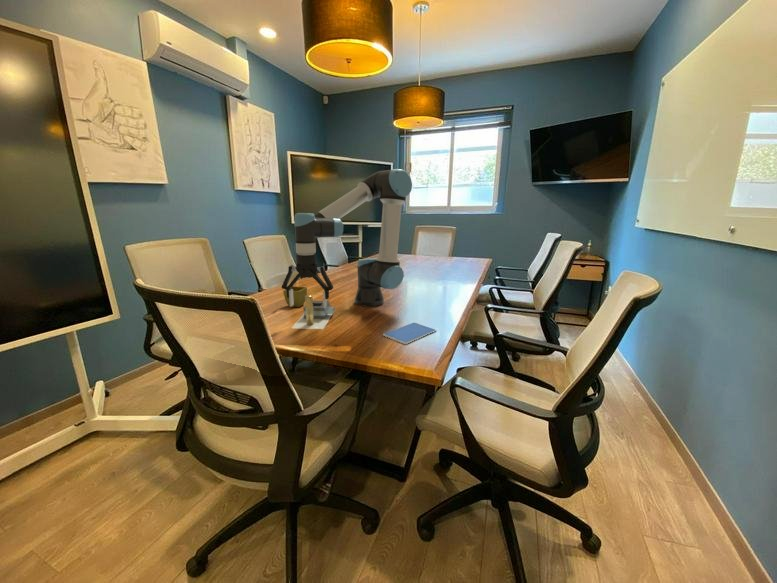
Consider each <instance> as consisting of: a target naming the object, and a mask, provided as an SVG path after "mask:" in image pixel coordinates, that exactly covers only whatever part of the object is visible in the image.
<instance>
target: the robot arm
mask: <svg viewBox="0 0 777 583" xmlns="http://www.w3.org/2000/svg"><path fill="white" fill-rule="evenodd" d="M412 189H413V181H412V178H411V176H410V175H409V173H408V172H407V171H406V170H405V169H400V168H399V169H398V168H393V169H387V170H379V171H376V172H374V173H372V174H371V175H368V176H367V177H366V178H364V179H363V180H361V181H360V182H358V183H357V186H356V187H355V188H353V189H351V190H350V191H348V192H347V193H345V194H344V195H343V196H341V197H339V198H338V199H337V200H335V201H333V202H331V203H330V204H328V205H327V206H325V207H323V208H322V209H321V210H319V211H318V212H316V213H314V212H313V213H311V212H307V213H306V212H297V213H295V214H294V220H293V222H294V235H295V236H294V237H295V253H296V255H295V258H296V266H295V265H293V264H291V265H289V266H288V271H287V273H286V276H285V278H284V280H283V283H282V285H281V289H282V290H285V289H286V291H287V298H289V301H290V306H289V307H291V308H293V307H292V306H293V305H294V299H293V289H291V288H292V286H294V285H295V284H297V281H299V279H300V278H309V279H311V278H312V279H314V281H316V282H317V284H318V285H319V286H320V288H322V289H323V291H322V301H323V307H326V306H327V301H328V300H329V299H330V298H329V297H330V291H332V290H333V289H334V285H333V284H332V282H331V279H330V278H329V275H328V274H327V272H326V267H325V266H324V265H322V266H318V265H317V254H316V252H317V246H316V244H317V242H316V240H317V239H318V238H337V237H338V238H339V237H341V236H342V235H343V233H344V222H343V221H342V220H341V219H342V218H343V217H345V216H346V215H348V214H349V213H350V212H352V211H354V210H355V209H357V208H358V207H360V206H362V204H364V203H365V202H371V201H373V200H375V199H377V198H379V200H380V202H381V203H382V214H381V223H380V224H381V226H380V241H379V249H378V251H379V252H378V257H377V256H376V257H369V258H362V259H358V260H357V264H356V265H357V267H356V268H357V291H356V293H355V297H354V304H356V305H357V306H361V307H379V306H381V305H383V304H384V303H385V300H384V295H383V292H382V288H383V289H384V290H395V289H397V288H398V287H400V285H401V284H402V282H403V280H404V277H405V276H404V275H405V273H404V270H403V268H402V267H401V265H400V264H401V260H400V259H399V258H398V252H399V251H398V250H399V240H400V229H401V217H402V208H403V207H402V206H403V204H405V203H406V198H407V196H409V195H410V193H411V192H412ZM295 271H296V272H297V275H295V277H294V278H293V279H292V281H290V280H291V277H292V275H293V273H294V272H295ZM318 271H319V273H320V275H321V276H322V278H323V279H322V278H321V277H320V276H319V274H318V273H317V272H318ZM323 280H324V281H323ZM289 282H290V283H289Z"/></svg>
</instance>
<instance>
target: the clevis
mask: <svg viewBox="0 0 777 583" xmlns="http://www.w3.org/2000/svg"><path fill="white" fill-rule="evenodd" d="M330 305H331V303H330V300H327V306H326V307H323V300H313V313H314V319H325V318H326V316H327V315H328V314H332V315H333V314H334V313H335V311H336V310H335V308H336V307H335V306H330ZM303 314H304V319H306V306H305V305H304V306H303Z"/></svg>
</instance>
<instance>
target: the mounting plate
mask: <svg viewBox="0 0 777 583" xmlns="http://www.w3.org/2000/svg"><path fill="white" fill-rule="evenodd" d="M332 315H333V314H328V315H327V316H326V318H325V319H314V325H310V326H309V325H307V322H306V319H304V313H303V314H302V315H301V316H300V318H299V319H298V320H297V321H296V322H295V323H294V324H293V325H292V326H291V329H295V330H296V329H300V330H302V329H303V330H305V329H306V330H307V329H308V330H324V329H325V327H326V326H327V324H328V322H329V320H330V319H331V317H332Z"/></svg>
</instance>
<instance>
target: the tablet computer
mask: <svg viewBox="0 0 777 583" xmlns="http://www.w3.org/2000/svg"><path fill="white" fill-rule="evenodd" d="M433 331H436V332H437V329H435V328H431V327H428V326H427V325H424V324H420V323H417V322H411V323H408V324H406V325H403V326H400V327H399V328H395V329H392V330H390V331H387V332H385V333H383V334H382V337H384V336H385V337H384V338H387V337H388V338H387V339H389V338H390V339H389V340H391V339H393V340H392V341H394V340H395V341H394V342H396V341H398V342H397V343H399V342H400V343H399V344H402V343H403V344H402V345H408V343H409V344H411V343H413V342H415V341H417V340H419V339H418V338H420V339H422V338H424V337H423V336H425V335H427V334H429V333H431V332H433ZM429 335H430V334H429ZM427 336H428V335H427ZM421 337H422V338H421ZM425 337H426V336H425ZM416 339H417V340H416ZM414 340H415V341H414ZM412 341H413V342H412ZM410 342H411V343H410Z"/></svg>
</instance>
